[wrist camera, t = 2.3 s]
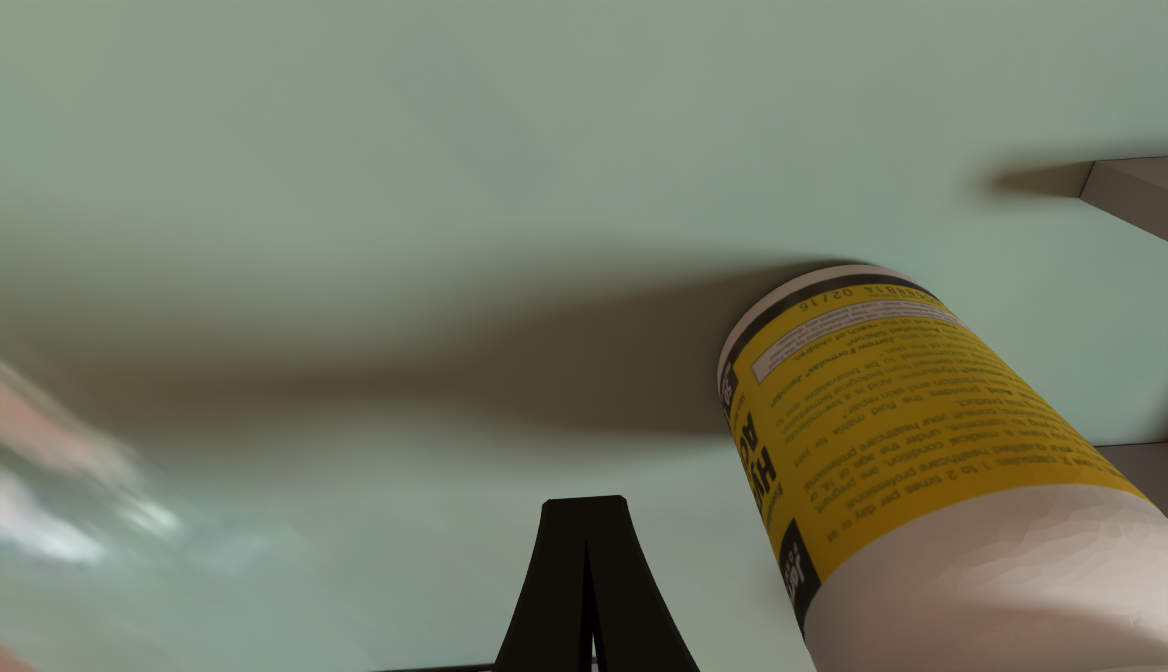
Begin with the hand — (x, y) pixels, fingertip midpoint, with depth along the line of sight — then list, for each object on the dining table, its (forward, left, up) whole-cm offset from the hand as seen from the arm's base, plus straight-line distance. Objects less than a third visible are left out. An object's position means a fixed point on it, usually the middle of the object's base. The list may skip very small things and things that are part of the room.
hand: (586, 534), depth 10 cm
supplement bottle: (+6, 0, -5) cm, 8 cm away
